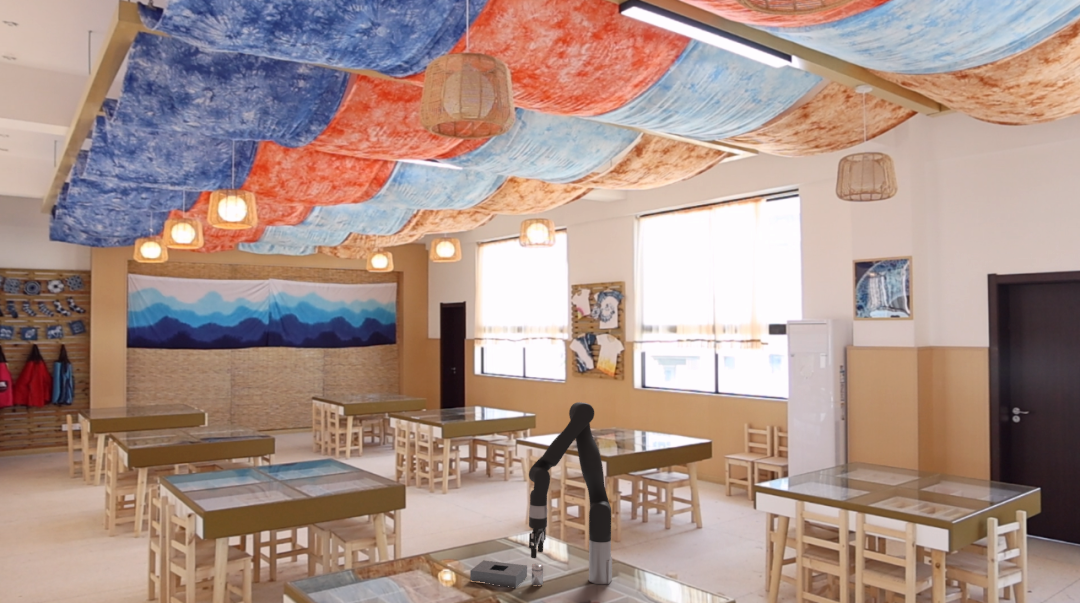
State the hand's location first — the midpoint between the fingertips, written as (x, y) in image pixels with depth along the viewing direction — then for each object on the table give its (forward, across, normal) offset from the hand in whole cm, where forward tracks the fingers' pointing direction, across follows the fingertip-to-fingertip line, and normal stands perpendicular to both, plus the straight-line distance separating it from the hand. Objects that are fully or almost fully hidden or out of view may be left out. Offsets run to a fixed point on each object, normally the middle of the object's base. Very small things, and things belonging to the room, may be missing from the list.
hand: (537, 554), depth 309 cm
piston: (+12, 0, -1) cm, 12 cm away
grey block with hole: (+12, 0, +16) cm, 21 cm away
